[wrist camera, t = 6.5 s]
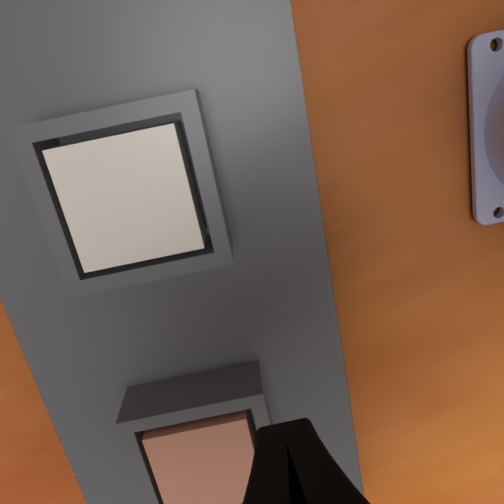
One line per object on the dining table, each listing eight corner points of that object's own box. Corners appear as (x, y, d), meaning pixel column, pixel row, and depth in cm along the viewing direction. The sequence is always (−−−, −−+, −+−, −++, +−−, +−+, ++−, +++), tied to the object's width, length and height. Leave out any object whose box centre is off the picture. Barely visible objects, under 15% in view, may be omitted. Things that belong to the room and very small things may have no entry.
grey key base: (272, -70, 17) (287, -117, 13) (359, 495, 26) (382, 563, 22) (-97, 8, 17) (-188, -17, 13) (120, 544, 26) (103, 620, 22)
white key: (179, 120, 17) (173, 123, 15) (206, 232, 18) (204, 248, 16) (62, 144, 17) (42, 150, 15) (98, 254, 18) (84, 272, 16)
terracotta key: (243, 389, 21) (246, 419, 19) (262, 464, 22) (265, 498, 20) (149, 408, 21) (141, 440, 19) (173, 482, 22) (168, 518, 20)
